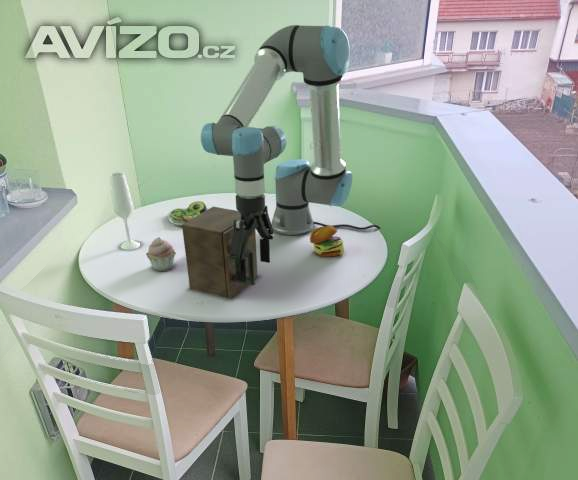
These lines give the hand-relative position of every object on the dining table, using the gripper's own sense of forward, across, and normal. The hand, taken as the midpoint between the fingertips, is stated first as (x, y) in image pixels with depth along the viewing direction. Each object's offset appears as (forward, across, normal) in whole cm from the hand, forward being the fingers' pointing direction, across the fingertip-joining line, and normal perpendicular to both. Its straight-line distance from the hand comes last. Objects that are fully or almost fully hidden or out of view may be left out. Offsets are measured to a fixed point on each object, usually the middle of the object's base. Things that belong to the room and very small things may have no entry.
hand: (253, 270), depth 158 cm
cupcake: (+10, -6, -38) cm, 39 cm away
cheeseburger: (+9, -40, +5) cm, 41 cm away
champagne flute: (+9, -15, -58) cm, 61 cm away
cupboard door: (+9, -6, -4) cm, 11 cm away
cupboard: (+9, -6, -14) cm, 18 cm away
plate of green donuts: (+9, -46, -53) cm, 71 cm away
